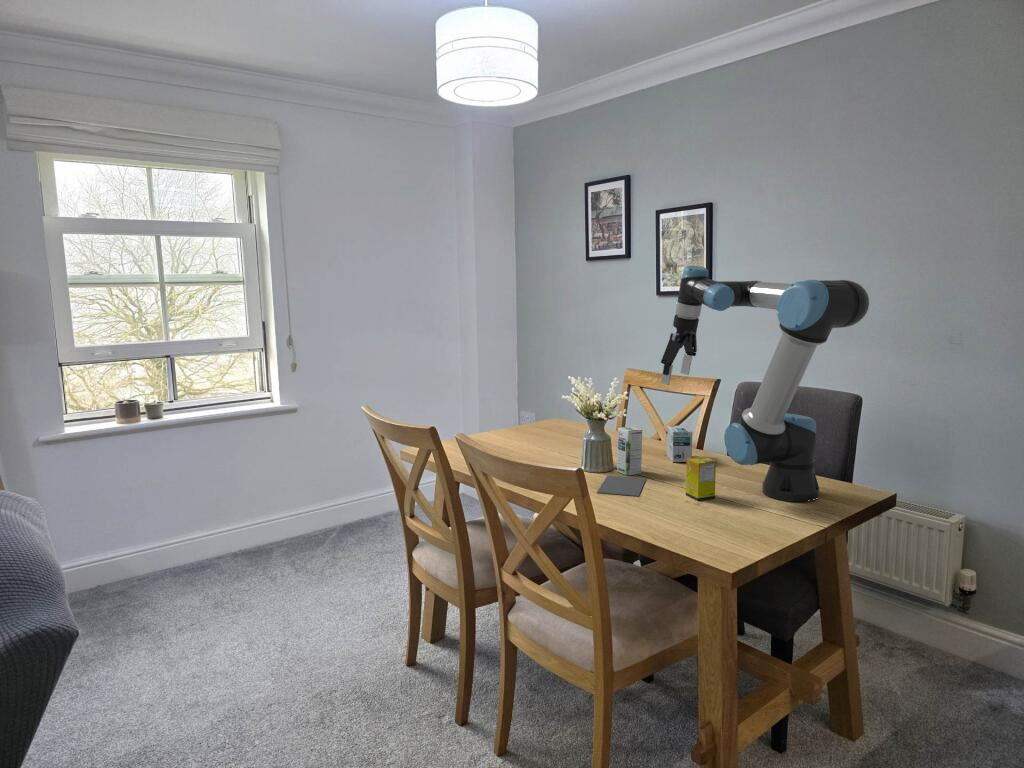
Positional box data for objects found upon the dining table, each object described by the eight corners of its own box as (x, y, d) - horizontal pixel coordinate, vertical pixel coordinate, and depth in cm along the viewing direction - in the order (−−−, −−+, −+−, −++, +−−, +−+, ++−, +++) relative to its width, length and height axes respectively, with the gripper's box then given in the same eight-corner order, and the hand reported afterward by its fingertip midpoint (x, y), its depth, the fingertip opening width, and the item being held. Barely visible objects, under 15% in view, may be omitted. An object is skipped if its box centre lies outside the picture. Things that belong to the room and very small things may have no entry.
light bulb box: (692, 463, 228) (693, 431, 227) (672, 463, 229) (672, 431, 227) (684, 455, 239) (685, 425, 237) (665, 455, 239) (666, 425, 238)
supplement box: (702, 492, 196) (703, 455, 195) (715, 498, 191) (716, 460, 189) (684, 495, 194) (685, 457, 193) (697, 501, 189) (698, 463, 187)
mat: (607, 476, 214) (607, 475, 213) (646, 479, 210) (646, 478, 210) (596, 493, 197) (596, 492, 197) (638, 496, 193) (638, 495, 193)
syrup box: (616, 471, 219) (616, 427, 216) (631, 469, 221) (631, 425, 219) (627, 476, 214) (627, 431, 211) (642, 473, 216) (643, 429, 214)
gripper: (693, 306, 223) (682, 366, 231) (657, 319, 205) (645, 384, 213) (715, 312, 219) (702, 373, 227) (679, 325, 201) (667, 391, 209)
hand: (675, 378), depth 220 cm, fingers open, 13 cm apart
